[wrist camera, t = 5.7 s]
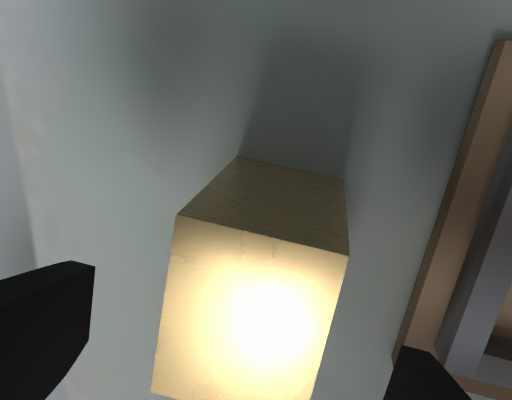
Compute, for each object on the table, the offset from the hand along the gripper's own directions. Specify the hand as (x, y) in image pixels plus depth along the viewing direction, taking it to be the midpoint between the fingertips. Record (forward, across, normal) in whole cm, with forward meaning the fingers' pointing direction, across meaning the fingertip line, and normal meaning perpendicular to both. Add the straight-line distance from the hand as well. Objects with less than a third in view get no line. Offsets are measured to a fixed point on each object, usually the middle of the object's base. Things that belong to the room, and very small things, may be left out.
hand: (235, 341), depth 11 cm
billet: (+8, 0, 0) cm, 8 cm away
